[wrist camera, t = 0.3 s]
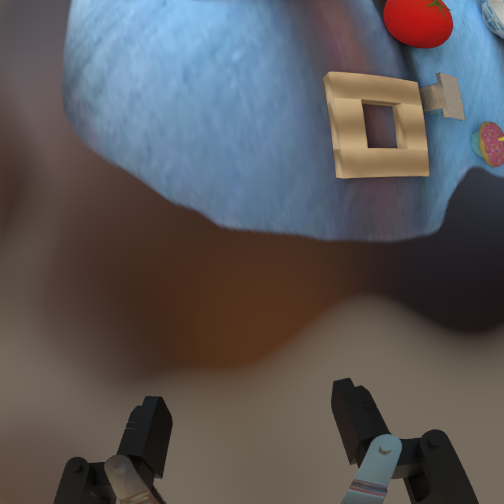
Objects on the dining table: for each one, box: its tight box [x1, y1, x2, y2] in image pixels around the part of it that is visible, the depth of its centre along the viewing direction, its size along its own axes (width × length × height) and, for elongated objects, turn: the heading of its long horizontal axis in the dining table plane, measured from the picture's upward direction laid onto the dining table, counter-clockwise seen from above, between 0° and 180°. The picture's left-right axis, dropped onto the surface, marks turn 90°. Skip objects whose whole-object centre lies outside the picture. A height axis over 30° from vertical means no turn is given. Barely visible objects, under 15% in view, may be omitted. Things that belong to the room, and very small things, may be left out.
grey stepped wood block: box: [419, 72, 465, 121], centre depth 29 cm, size 7×4×8 cm, turn 7°
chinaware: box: [482, 0, 504, 39], centre depth 20 cm, size 15×15×8 cm
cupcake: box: [471, 122, 504, 167], centre depth 28 cm, size 9×8×12 cm
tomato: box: [383, 0, 453, 48], centre depth 22 cm, size 11×11×13 cm
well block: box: [323, 72, 429, 178], centre depth 32 cm, size 15×15×3 cm
